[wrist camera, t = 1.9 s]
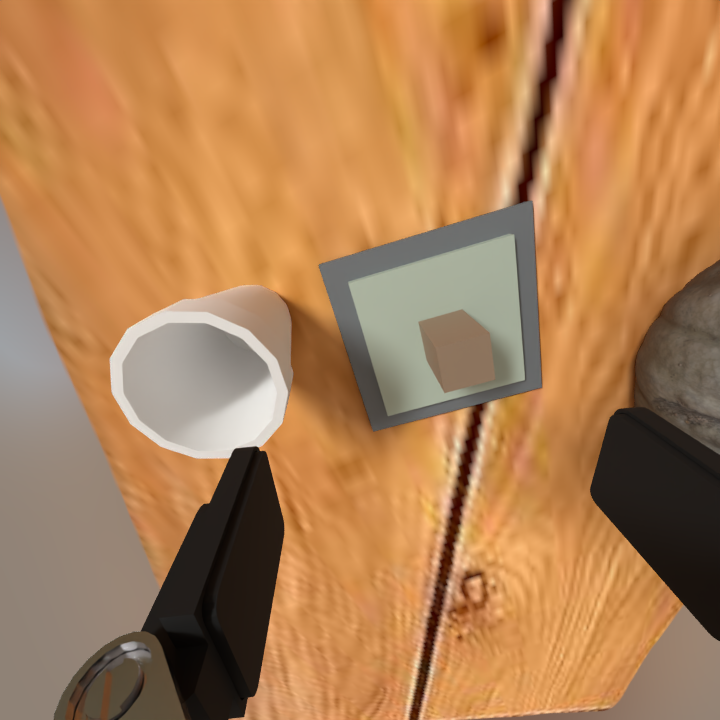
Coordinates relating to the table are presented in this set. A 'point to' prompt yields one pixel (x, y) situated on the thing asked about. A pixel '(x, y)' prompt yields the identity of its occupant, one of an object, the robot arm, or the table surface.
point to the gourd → (685, 360)
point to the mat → (418, 249)
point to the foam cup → (207, 372)
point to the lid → (443, 325)
